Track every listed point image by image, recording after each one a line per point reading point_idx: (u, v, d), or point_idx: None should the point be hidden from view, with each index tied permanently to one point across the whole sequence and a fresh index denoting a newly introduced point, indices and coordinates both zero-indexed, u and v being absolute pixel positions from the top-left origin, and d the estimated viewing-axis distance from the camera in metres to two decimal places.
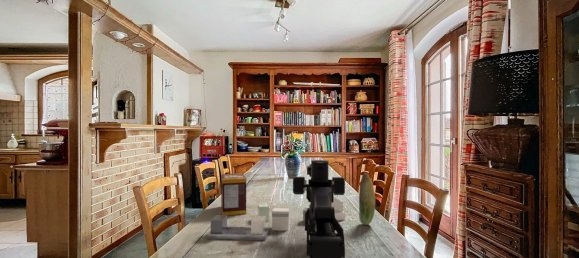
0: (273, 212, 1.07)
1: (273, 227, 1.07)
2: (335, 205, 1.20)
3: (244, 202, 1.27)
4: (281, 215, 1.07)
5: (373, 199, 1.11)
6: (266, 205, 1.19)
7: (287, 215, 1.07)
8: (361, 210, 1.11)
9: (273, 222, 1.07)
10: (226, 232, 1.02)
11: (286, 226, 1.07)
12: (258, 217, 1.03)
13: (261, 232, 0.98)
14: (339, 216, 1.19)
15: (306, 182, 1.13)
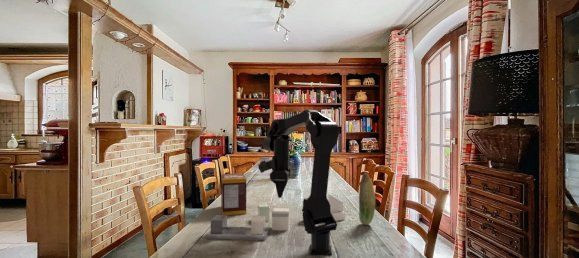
0: (273, 212, 1.07)
1: (273, 227, 1.07)
2: (335, 205, 1.20)
3: (244, 202, 1.27)
4: (281, 215, 1.07)
5: (373, 199, 1.11)
6: (266, 205, 1.19)
7: (287, 215, 1.07)
8: (361, 210, 1.11)
9: (273, 222, 1.07)
10: (226, 232, 1.02)
11: (286, 226, 1.07)
12: (258, 217, 1.03)
13: (261, 232, 0.98)
14: (339, 216, 1.19)
15: None
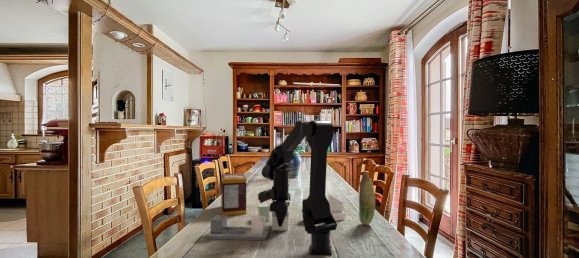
0: (273, 212, 1.07)
1: (273, 227, 1.07)
2: (335, 205, 1.20)
3: (244, 202, 1.27)
4: None
5: (373, 199, 1.11)
6: (266, 205, 1.19)
7: (287, 215, 1.07)
8: (361, 210, 1.11)
9: (273, 222, 1.07)
10: (226, 232, 1.02)
11: (286, 226, 1.07)
12: (258, 217, 1.03)
13: (261, 232, 0.98)
14: (339, 216, 1.19)
15: None
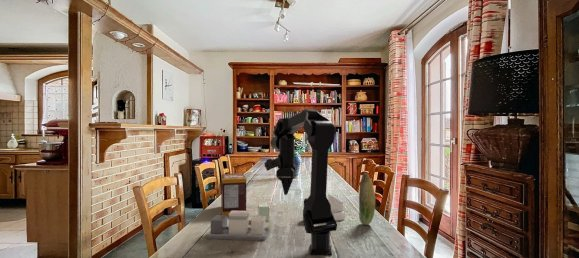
0: (230, 215, 1.00)
1: (230, 231, 1.00)
2: (335, 205, 1.20)
3: (244, 202, 1.27)
4: (238, 218, 1.00)
5: (373, 199, 1.11)
6: (266, 205, 1.19)
7: (245, 218, 1.00)
8: (361, 210, 1.11)
9: (229, 225, 1.00)
10: (226, 232, 1.02)
11: (244, 230, 1.00)
12: (258, 217, 1.03)
13: (261, 232, 0.98)
14: (339, 216, 1.19)
15: None
